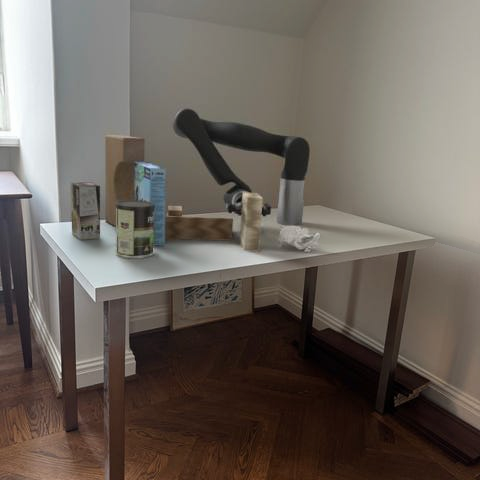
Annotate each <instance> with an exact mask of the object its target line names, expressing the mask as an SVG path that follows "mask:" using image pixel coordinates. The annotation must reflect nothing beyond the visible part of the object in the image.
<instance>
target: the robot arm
mask: <svg viewBox="0 0 480 480" xmlns="http://www.w3.org/2000/svg"><path fill="white" fill-rule="evenodd" d="M172 129H173V131H174V133H175V134H176V135H177V136H178V137H180V138H183V139H188V140H189V141H190V143H192V145H193V147H194V148H195V149H196V150H197V152H198V155H200V157H201V158H200V159H201V160H202V162H203V164H204V166H205V168H206V169H207V171H208V172H209V174H210V175H211V176H212V178H213V179H214V181H215V182H216V184H218V186H225V185H227V184H229V183H233V184H234V185H233V186H232V187H231V188H229V189H228V190H227V191H225V192H224V194H223V196H222V199H223V201H224V203H225V205H226V207H225V210H226V211H227V213H229V214H232V213H233V212H234V214H236V215H237V216H240V217H241V214H242V197H243V192H246V193H253V191H252V189H251V187H250V186H249V185H248V184H246V182H244V181H243V180H241V179H240V178H239V176H237V175H236V174H235V172H233V170H232V168H231V167H230V166H229V165H228V163H227V162H226V161H225V159H224V158H223V155H222V154H221V153H220V152H219V150H218V148H217V147H216V146H215V144H218V145H222V146H225V147H229V148H233V149H237V150H242V151H247V152H254V153H255V152H256V153H267V154H272V155H275V156H278V157H280V158H283V159H284V165H283V166H284V167H283V169H282V170H281V172H280V183H279V191H278V193H279V194H278V206H277V216H276V222H277V223H278V224H282V225H286V226H299V225H303V214H304V207H305V204H304V203H305V200H304V199H303V198H304V189H305V182H306V181H305V180H306V176H307V175H306V174H307V172H308V169H309V162H310V161H309V160H310V153H311V152H310V151H311V150H310V149H311V148H310V144H309V142H308V141H307V140H306V139H305V138H303V137H301V136H295V135H293V136H291V135H280V134H275V133H271V132H268V131H265V130H264V129H261V128H259V127H255V126H252V125H249V124H244V123H240V122H233V121H211V120H208V119H207V120H206V119H203V118H200V116H199V114H198V113H197V112H196V111H195V110H193V109H191V108H183V109H180V110H179V111H178V112H177V113H176V115H175V117H174V118H173V121H172ZM271 211H272V206H271V204H269V203H267V202H266V203H264V204H263V205H262V215H261V217H267V216H269V215H271V214H272V213H271Z"/></svg>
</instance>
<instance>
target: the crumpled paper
mask: <svg viewBox="0 0 480 480" xmlns="http://www.w3.org/2000/svg"><path fill="white" fill-rule="evenodd" d="M279 227H280V232H279V235H278V236H277V238H278V241H279V242H280V244H279V246H280V247H282V246H283V245H284V244H286V245H287V246H293V247H294V248H296V249H298V250H299V251H302V250H304V249H305V250H304V251H303V253H311V248H312V247H314V246H315V247H316V248H317V247H318V246H319V245H320V243H319V241H316V240H319V238H320V237H321V234H320V232H316V234H315V233H313V234H312V233H311V234H309V233H310V232H309V229H308V228H307V227H305V228H301V225H286V226H283V225H279Z"/></svg>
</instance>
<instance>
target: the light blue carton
mask: <svg viewBox="0 0 480 480" xmlns="http://www.w3.org/2000/svg"><path fill="white" fill-rule="evenodd" d="M166 170H167V169H166V168H165V167H162V166H159V165H156V164H154V163H151V162H149V161H144V162H135V177H134V189H135V200H138V201H148V202H152V203H154V204H155V207H154V237H153V246H163V245H165V242H166V240H165V239H166V238H165V216H166V183H167V182H166V181H167V179H166V175H167V173H166V172H167V171H166Z"/></svg>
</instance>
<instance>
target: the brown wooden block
mask: <svg viewBox="0 0 480 480" xmlns="http://www.w3.org/2000/svg"><path fill="white" fill-rule="evenodd" d="M233 224H234V218H233V217H211V216H210V217H207V216H185V215H184V216H183V215H182V216H167V215H165V239H179V240H181V239H183V240H212V241H213V240H214V241H216V240H217V241H219V240H220V241H232V238H233V226H234V225H233Z"/></svg>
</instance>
